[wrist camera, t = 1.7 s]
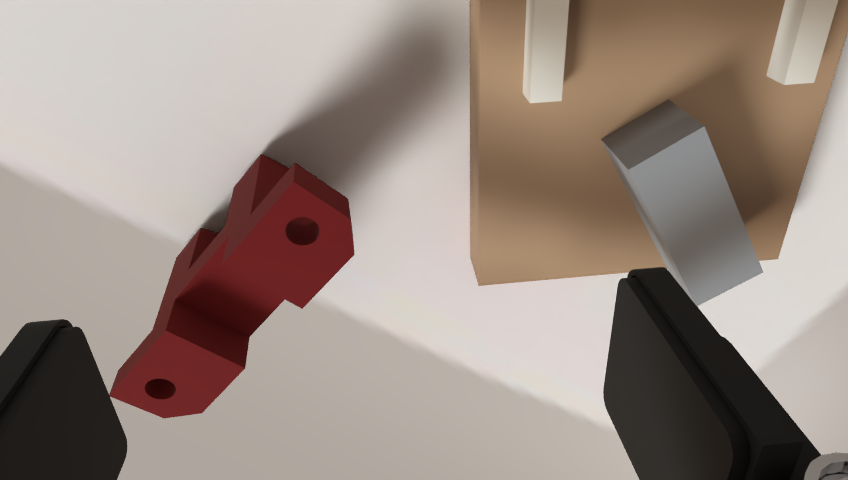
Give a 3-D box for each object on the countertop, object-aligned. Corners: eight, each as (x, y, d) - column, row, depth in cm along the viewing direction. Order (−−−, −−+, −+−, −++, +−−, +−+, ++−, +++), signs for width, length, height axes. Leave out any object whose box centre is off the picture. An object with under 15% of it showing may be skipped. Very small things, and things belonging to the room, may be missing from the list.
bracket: (373, 234, 18) (187, 427, 21) (362, 151, 23) (211, 320, 26) (293, 181, 17) (108, 396, 20) (299, 104, 21) (148, 288, 25)
